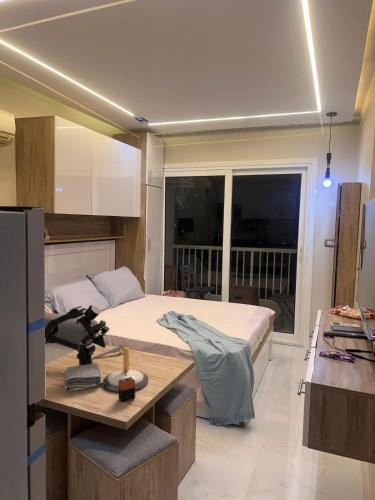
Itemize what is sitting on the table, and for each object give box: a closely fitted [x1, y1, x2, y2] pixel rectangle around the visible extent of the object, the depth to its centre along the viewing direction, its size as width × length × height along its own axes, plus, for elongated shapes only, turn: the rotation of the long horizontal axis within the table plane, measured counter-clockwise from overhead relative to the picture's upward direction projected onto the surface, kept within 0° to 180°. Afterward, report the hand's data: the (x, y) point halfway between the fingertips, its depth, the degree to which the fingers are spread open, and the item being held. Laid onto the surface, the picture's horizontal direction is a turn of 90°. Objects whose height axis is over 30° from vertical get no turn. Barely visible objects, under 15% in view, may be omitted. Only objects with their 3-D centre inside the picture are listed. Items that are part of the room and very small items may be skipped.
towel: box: [64, 362, 103, 392], centre depth 183 cm, size 15×18×8 cm
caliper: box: [92, 343, 125, 360], centre depth 221 cm, size 20×1×6 cm, turn 120°
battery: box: [118, 377, 136, 403], centre depth 168 cm, size 4×7×10 cm, turn 123°
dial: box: [108, 347, 143, 387], centre depth 185 cm, size 18×18×13 cm
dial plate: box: [102, 370, 149, 394], centre depth 185 cm, size 23×23×2 cm
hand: (105, 347), depth 197 cm, fingers closed
